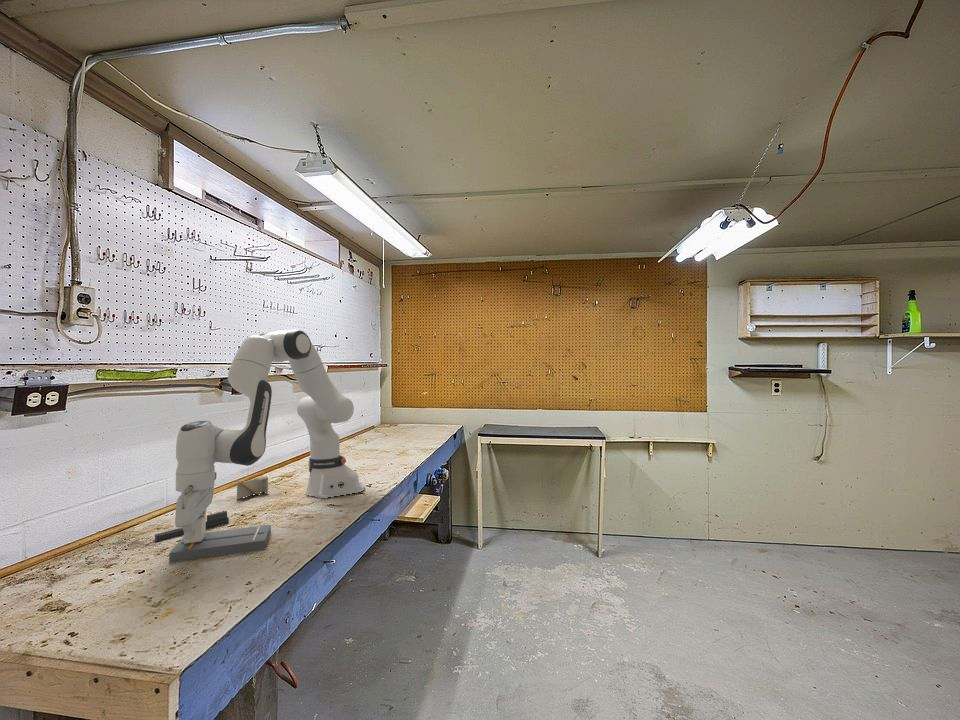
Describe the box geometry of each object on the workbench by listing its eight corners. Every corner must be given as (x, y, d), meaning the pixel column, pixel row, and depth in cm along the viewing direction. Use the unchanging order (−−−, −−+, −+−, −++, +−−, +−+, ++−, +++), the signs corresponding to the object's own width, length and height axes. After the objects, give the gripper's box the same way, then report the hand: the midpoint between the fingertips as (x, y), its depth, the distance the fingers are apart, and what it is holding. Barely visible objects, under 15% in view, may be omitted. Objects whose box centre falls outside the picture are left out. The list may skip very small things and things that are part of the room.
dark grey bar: (156, 544, 118) (157, 529, 118) (154, 541, 119) (154, 527, 119) (229, 524, 132) (229, 511, 132) (226, 522, 133) (226, 509, 133)
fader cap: (205, 535, 115) (205, 513, 115) (201, 541, 111) (201, 518, 111) (188, 537, 114) (188, 515, 114) (183, 543, 110) (183, 520, 110)
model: (268, 494, 163) (268, 475, 163) (242, 502, 154) (242, 481, 154) (262, 493, 165) (262, 474, 165) (236, 501, 155) (237, 480, 155)
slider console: (270, 532, 124) (270, 524, 124) (264, 549, 113) (264, 539, 113) (184, 543, 117) (184, 534, 117) (169, 562, 105) (169, 552, 105)
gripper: (197, 490, 104) (196, 545, 104) (218, 471, 123) (217, 517, 123) (167, 493, 102) (167, 549, 102) (193, 473, 121) (192, 520, 121)
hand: (194, 531), depth 112 cm, fingers open, 8 cm apart
